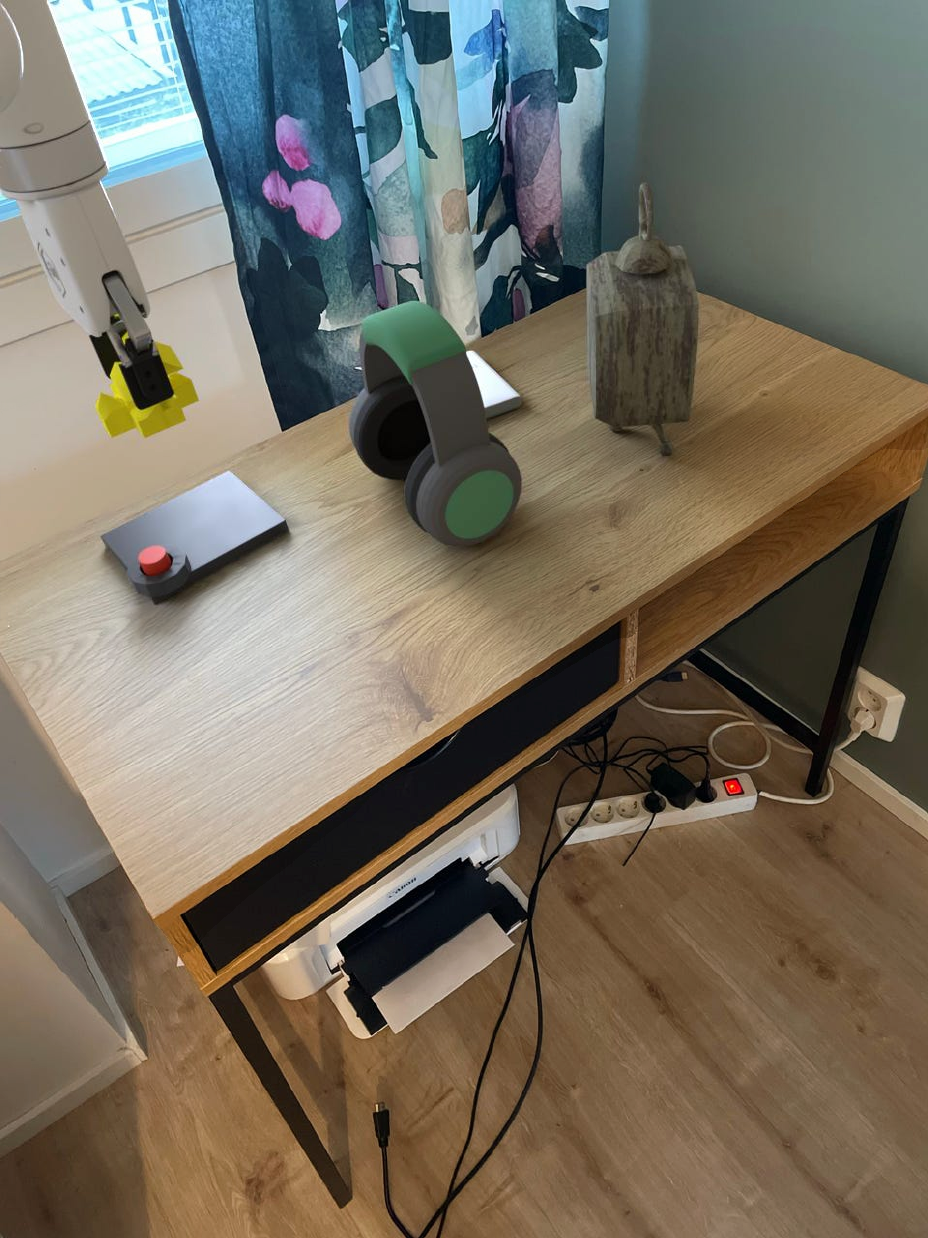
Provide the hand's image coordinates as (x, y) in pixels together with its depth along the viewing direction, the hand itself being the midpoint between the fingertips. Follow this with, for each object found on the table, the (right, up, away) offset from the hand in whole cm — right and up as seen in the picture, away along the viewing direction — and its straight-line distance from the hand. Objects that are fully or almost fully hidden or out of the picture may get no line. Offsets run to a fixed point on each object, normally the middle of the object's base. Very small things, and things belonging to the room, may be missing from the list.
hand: (139, 384), depth 75 cm
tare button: (-2, -15, +10) cm, 18 cm away
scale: (0, -11, +16) cm, 20 cm away
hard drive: (+27, +7, +30) cm, 41 cm away
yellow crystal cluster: (0, -2, +2) cm, 3 cm away
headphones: (+24, -8, +17) cm, 31 cm away
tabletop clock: (+45, +1, +22) cm, 50 cm away
